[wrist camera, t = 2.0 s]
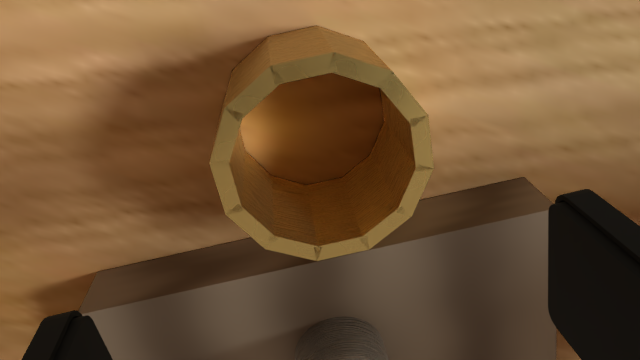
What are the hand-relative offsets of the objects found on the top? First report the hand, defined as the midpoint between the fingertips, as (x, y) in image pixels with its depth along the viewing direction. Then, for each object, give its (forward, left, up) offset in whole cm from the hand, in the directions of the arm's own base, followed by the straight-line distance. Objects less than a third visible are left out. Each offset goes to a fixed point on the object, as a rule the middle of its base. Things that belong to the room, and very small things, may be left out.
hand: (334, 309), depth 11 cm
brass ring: (-1, 0, -12) cm, 12 cm away
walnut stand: (0, +12, -12) cm, 17 cm away
